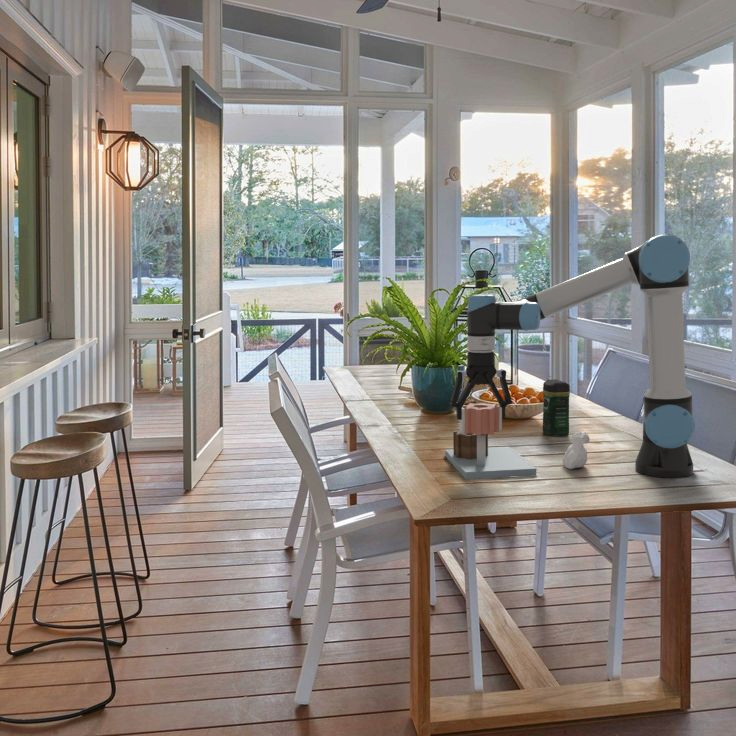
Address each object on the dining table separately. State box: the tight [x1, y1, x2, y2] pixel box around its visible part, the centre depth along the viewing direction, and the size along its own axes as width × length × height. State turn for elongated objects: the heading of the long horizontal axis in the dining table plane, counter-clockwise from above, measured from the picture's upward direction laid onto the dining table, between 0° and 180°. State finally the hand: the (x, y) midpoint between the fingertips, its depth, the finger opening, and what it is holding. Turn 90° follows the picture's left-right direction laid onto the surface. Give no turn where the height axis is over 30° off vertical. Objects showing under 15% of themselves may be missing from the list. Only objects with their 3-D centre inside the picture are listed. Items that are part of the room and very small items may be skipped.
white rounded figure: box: [561, 430, 591, 470], centre depth 226 cm, size 12×8×11 cm
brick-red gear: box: [462, 402, 500, 435], centre depth 220 cm, size 10×10×7 cm
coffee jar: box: [542, 378, 571, 437], centre depth 267 cm, size 10×8×19 cm
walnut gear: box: [452, 428, 489, 459], centre depth 234 cm, size 10×10×7 cm
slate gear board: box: [444, 433, 537, 480], centre depth 229 cm, size 26×20×11 cm
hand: (480, 430), depth 221 cm, fingers closed on brick-red gear, 10 cm apart
